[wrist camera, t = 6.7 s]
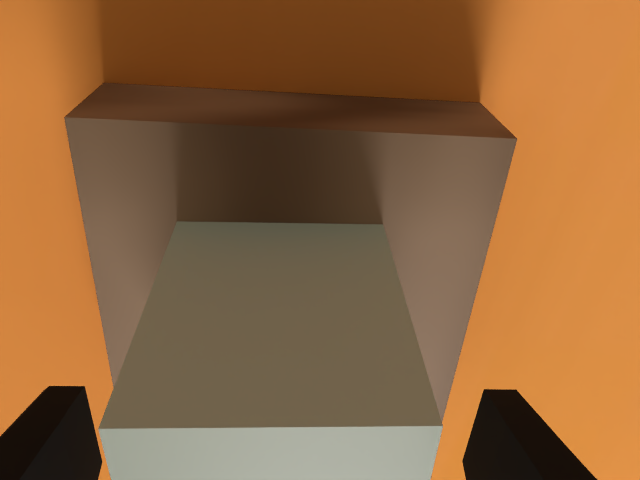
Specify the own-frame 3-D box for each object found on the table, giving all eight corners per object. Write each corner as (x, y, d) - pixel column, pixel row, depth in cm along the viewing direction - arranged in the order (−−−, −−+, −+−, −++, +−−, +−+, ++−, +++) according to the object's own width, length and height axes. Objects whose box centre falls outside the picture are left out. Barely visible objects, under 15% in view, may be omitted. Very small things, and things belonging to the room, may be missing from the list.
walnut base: (474, 96, 14) (516, 138, 11) (417, 361, 18) (438, 433, 16) (109, 77, 13) (64, 116, 10) (146, 356, 18) (121, 432, 15)
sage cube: (365, 372, 14) (402, 598, 9) (193, 373, 14) (142, 605, 9) (382, 224, 12) (442, 426, 7) (176, 221, 12) (98, 429, 7)
